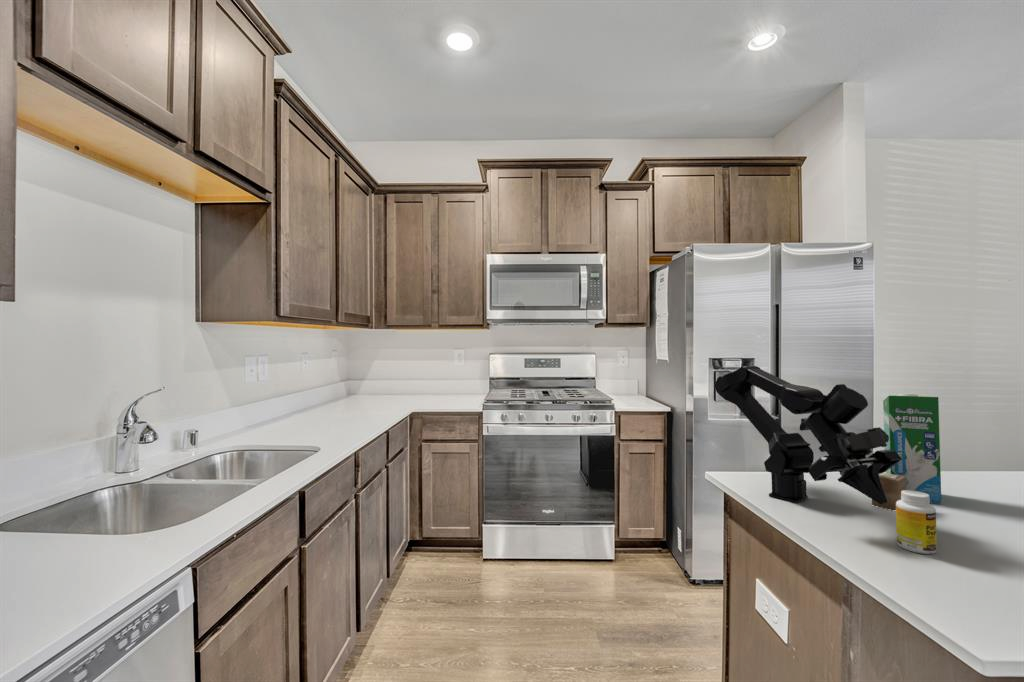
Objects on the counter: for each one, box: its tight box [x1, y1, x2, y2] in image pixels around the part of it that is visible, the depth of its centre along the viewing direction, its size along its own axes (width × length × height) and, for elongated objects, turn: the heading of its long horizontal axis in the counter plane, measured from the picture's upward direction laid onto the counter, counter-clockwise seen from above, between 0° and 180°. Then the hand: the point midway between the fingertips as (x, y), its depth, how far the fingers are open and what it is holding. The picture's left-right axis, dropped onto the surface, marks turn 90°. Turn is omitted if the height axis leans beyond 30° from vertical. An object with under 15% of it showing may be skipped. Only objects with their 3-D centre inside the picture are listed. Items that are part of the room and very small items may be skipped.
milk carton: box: [882, 393, 942, 504], centre depth 112 cm, size 9×9×25 cm
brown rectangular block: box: [871, 472, 906, 511], centre depth 105 cm, size 5×5×7 cm
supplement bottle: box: [895, 490, 937, 555], centre depth 84 cm, size 6×6×10 cm
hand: (884, 503), depth 90 cm, fingers closed
